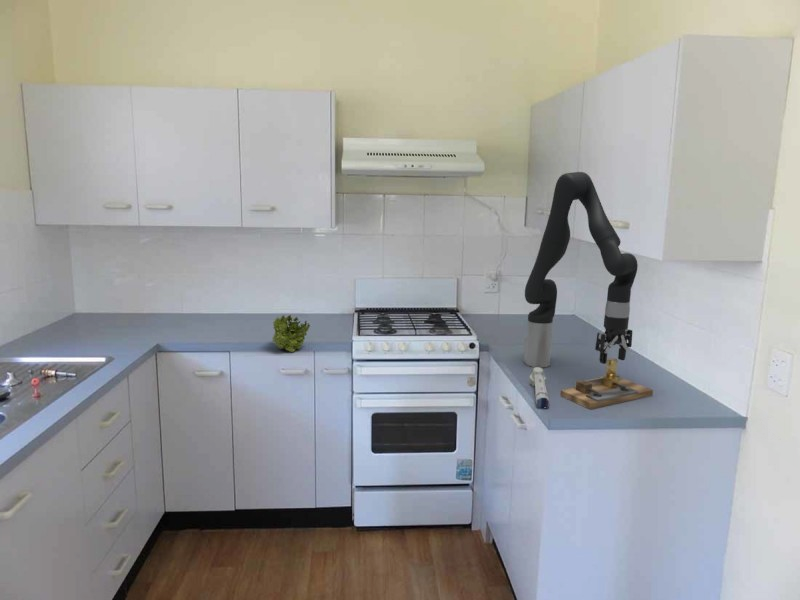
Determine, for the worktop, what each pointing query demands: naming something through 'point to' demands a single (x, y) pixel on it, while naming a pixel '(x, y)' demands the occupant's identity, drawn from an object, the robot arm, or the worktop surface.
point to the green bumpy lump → (289, 333)
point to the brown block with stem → (585, 387)
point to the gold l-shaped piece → (611, 374)
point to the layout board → (606, 393)
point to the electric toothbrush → (539, 387)
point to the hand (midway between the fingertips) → (612, 361)
